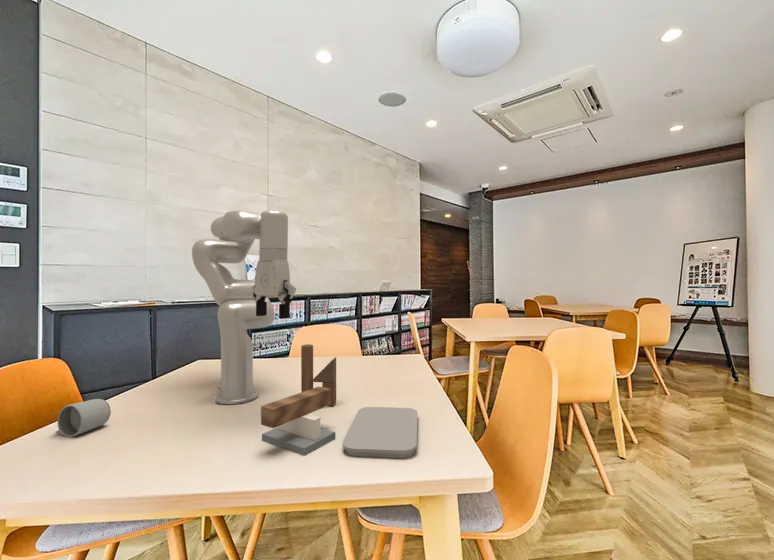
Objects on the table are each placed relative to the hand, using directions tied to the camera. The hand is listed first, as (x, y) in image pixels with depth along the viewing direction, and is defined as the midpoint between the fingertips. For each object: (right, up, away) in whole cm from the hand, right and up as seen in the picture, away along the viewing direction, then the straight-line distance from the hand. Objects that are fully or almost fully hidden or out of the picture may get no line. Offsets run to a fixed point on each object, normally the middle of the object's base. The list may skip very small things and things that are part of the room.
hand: (272, 317), depth 100 cm
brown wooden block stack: (+11, -28, +10) cm, 31 cm away
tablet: (+31, -28, -12) cm, 44 cm away
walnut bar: (+11, -21, -16) cm, 29 cm away
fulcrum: (+11, -27, -16) cm, 33 cm away
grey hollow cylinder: (-45, -28, -10) cm, 54 cm away
